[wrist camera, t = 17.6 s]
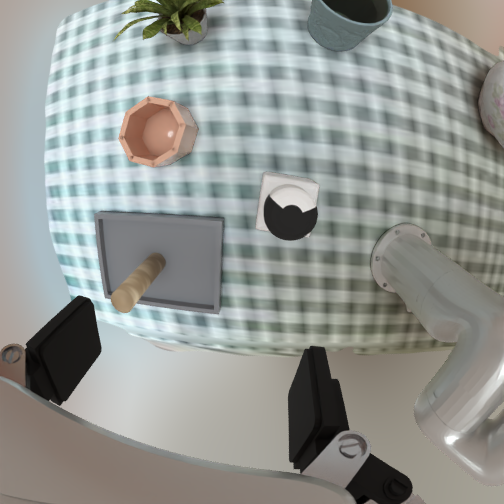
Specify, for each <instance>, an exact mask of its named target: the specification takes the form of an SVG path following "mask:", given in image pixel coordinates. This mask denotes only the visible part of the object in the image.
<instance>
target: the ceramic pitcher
mask: <svg viewBox="0 0 504 504" xmlns="http://www.w3.org/2000/svg"><path fill="white" fill-rule="evenodd" d="M478 106H479V113H480V116H481V119H482V122H483V126H484V128H485V129H486V130H487V131H488V132H489V133H491V134H492V135H493V136H494V137H495V138H496V139H497V140H498V142H499V143H500V145H501V146H502V147H503V148H504V61H501V62H499V63H496V64H495V65H494V66H493V67H492V68H491V69H490V70H489V72H488V74H487V76H486V78H485V80H484V83H483V86H482V89H481V92H480V95H479V99H478Z"/></svg>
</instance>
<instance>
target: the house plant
mask: <svg viewBox="0 0 504 504" xmlns="http://www.w3.org/2000/svg"><path fill="white" fill-rule="evenodd" d="M157 1H158V2H159V3H160V4H162V5H160V4H158V3H155V2H152V1H149V0H139V1H136V2H135V5H134V6H131V7H130V8H131V9H129V8H128V10H126V11H125V12H123V13H122V14H127V13H130V12H134V13H137V12H153V13H159V16H151V17H145V18H140V19H137V20H134V21H132V22H130V23H128V24H127V25H126V26H125V27H124V28H123V29H122V30H121V31H120V32H119V33H118V34H117V35H116V37H115V39H116V38H117V37H118V36H119V35H120V34H121V33H123V32H124V31H125V30H126V29H127V28H129V27H130V26H132V25H133V24H135V23H137V22H140V21H143V20H147V19H152V18H156V17H158V19H157V21H155V22H154V23H152V24H151V25H149V26H147V27H146V28H144V30H143V40H144V39H147V38H151V37H153V36H155V35H156V34H157V33H158V32H159V31H161V32H162V33H164V34H166V36H169V37H171V38H173V39H175V40H176V41H178V42H180V43H182V44H185V45H192V44H195V43H198V42H199V41H201V40H202V39H203V38H204V37H205V36H206V34H207V31H208V29H207V15H206V8H209V7H212V6H215V5H217V4H220V3H224V2H222V1H223V0H157ZM135 6H136V7H135ZM132 7H135V8H132ZM120 15H121V14H120ZM115 39H114V40H115ZM114 40H113V41H114ZM113 41H112V42H113Z"/></svg>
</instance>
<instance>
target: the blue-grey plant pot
mask: <svg viewBox="0 0 504 504" xmlns="http://www.w3.org/2000/svg"><path fill="white" fill-rule="evenodd" d="M392 11H393V7H392V2H391V0H312V6H311V14H310V16H309V19H308V29H309V32H310V34H311V36H312V37H313V38H314V40H316V41H317V42H318V43H319V44H320V45H321V46H323V47H325V48H327V49H330V50H334V51H347V50H350V49H352V48H354V47H355V46H357V45H358V44H359V42H360V41H362V40H363V39H365V38H366V37H367V36H368V35H369V34H371V33H372V32H373V31H374V30H376V29H377V28H379V27H380V26H381V25H383V24H384V23H385V22H386V21H388V20H389V18H390V17H391V15H392Z"/></svg>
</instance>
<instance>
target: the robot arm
mask: <svg viewBox="0 0 504 504" xmlns="http://www.w3.org/2000/svg"><path fill="white" fill-rule="evenodd" d="M395 231H396V232H395ZM371 271H372V275H373V277H374V279H375V281H376V282H377V283H378V285H379V286H380V287H381V288H383V289H384V290H386V291H389V292H394V293H397V294H398V295H399V296H400V297H401V299H402V300H403V301H404V302H405V304H406V310H407V311H408V312H412V313H413V314H414V315H415V316H416V318H417V319H418V320H419V322H420V323H421V324H422V326H423V327H424V328H425V330H426V331H427V332H428V333H429V334H430V335H431V336H432V337H433V338H435V339H437V340H439V341H443V342H457V343H456V345H455V347H454V349H453V350H452V352H451V353H450V355H449V357H448V359H447V360H446V361H445V363H444V364H443V365H442V367H441V368H440V369H439V371H438V372H437V373H436V374H435V376H434V377H433V378H432V379H431V381H430V382H429V383H428V384H427V386H426V387H425V388H424V390H423V391H422V392H421V393H420V395H419V396H418V398H417V400H416V403H415V406H414V417H415V420H416V423H417V425H418V427H419V428H420V430H421V431H422V432H423V434H424V435H425V436H426V437H427V438H428V439H429V440H430V441H431V442H432V443H433V444H434V445H435V446H436V447H437V448H438V449H440V450H441V451H442V452H443V453H444V454H445V455H446V456H448V457H449V458H450V459H451V460H452V461H453V462H455V463H456V464H457V465H458V466H459V467H460V468H462V469H463V470H464V471H465V472H466V473H468V474H469V475H470V476H471V477H473V478H474V479H475V480H476V481H478V482H479V483H481V484H483V485H486V486H499V485H502V484H504V409H503V410H502V411H501V412H500V413H499V415H498V416H497V417H496V418H494V419H488V417H489V416H490V415H491V414H492V413H493V412H494V411H495V410H496V408H497V407H498V406H499V405H501V404H502V402H503V401H504V296H502V295H500V294H499V293H497V292H496V291H494V290H492V289H491V288H489V287H488V286H486V285H485V284H483V283H482V282H481V281H479V280H478V279H477V278H475V277H474V276H473V275H471V274H470V273H469V272H467V271H466V270H465V269H463V268H462V267H461V266H459V265H458V264H457V263H455V262H454V261H452V260H451V259H450V258H448V257H447V256H446V255H444V254H443V253H441V252H440V251H438V250H437V249H435V248H434V247H433V246H432V243H431V240H430V238H429V236H428V234H427V233H426V232H425V231H424V230H423V229H421V228H420V227H418V226H416V225H413V224H400V225H397V226H394V227H392V228H391V229H389V230H388V231H386V232H385V233H384V234H383V235H382V236H381V238H380V239H379V240H378V242H377V244H376V245H375V247H374V250H373V253H372V257H371ZM26 346H27V348H26V349H24V348H23V347H22V346H21V345H19V344H9V345H7V346H5V347H4V348H3V349H2V350H1V351H0V504H426V503H425V502H424V501H423V500H422V499H421V498H420V497H419V496H418V495H416V496H414V495H413V494H412V488H413V487H412V483H411V481H410V479H409V478H408V477H407V476H406V475H404V474H402V473H400V472H399V471H398V470H396V469H394V468H392V467H391V466H389V465H388V464H386V463H385V462H383V461H382V460H380V459H378V458H377V457H375V456H374V455H372V454H371V453H370V452H371V444H370V441H369V440H368V438H367V437H366V436H365V435H363V434H362V433H360V432H357V431H352V430H349V425H348V420H347V415H346V411H345V406H344V401H343V397H342V392H341V388H340V384H339V381H338V380H337V379H331V374H330V369H329V365H328V360H327V355H326V351H325V348H324V347H317V346H310V348H309V349H305V350H304V353H303V356H302V359H301V361H300V364H299V367H298V369H297V372H296V375H295V377H294V380H293V382H292V385H291V388H290V390H289V394H288V412H289V413H288V415H289V461H290V462H293V463H294V469H300V473H301V474H296V473H289V472H281V471H272V470H264V469H256V468H248V467H241V466H235V465H229V464H223V463H217V462H212V461H207V460H202V459H198V458H193V457H189V456H185V455H181V454H177V453H173V452H169V451H166V450H163V449H159V448H156V447H152V446H150V445H146V444H143V443H141V442H137V441H135V440H132V439H129V438H127V437H124V436H121V435H118V434H116V433H114V432H111V431H109V430H106V429H104V428H102V427H99V426H97V425H94V424H92V423H90V422H88V421H86V420H84V419H82V418H80V417H78V416H75V415H73V414H72V413H69V412H68V411H66V410H64V409H62V408H60V407H58V406H56V405H54V404H53V403H51V402H49V400H50V399H51V401H52V402H54V403H56V404H57V405H59V406H60V405H61V404H62V402H63V401H66V400H67V399H68V398H69V396H70V395H71V394H72V392H73V391H74V389H75V388H76V386H77V385H78V384H79V382H80V381H81V379H82V378H83V377H84V375H85V374H86V372H87V371H88V370H89V368H90V367H91V366H92V364H93V363H94V362H95V360H96V359H97V358H98V356H99V355H100V353H101V343H100V338H99V333H98V328H97V322H96V316H95V310H94V304H93V303H92V302H91V300H90V299H89V298H86V297H83V296H77V297H76V298H75V299H74V300H72V301H71V302H70V303H69V304H68V305H67V306H66V307H65V308H64V309H63V310H61V311H60V312H59V313H58V314H57V315H56V316H55V317H54V318H52V319H51V320H50V321H49V322H48V323H47V324H46V325H45V326H44V327H43V328H42V329H41V330H39V332H37V333H36V334H35V335H34V336H33V337H32V338H31V339H30V340H29V341H28V342H27V343H26Z"/></svg>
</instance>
